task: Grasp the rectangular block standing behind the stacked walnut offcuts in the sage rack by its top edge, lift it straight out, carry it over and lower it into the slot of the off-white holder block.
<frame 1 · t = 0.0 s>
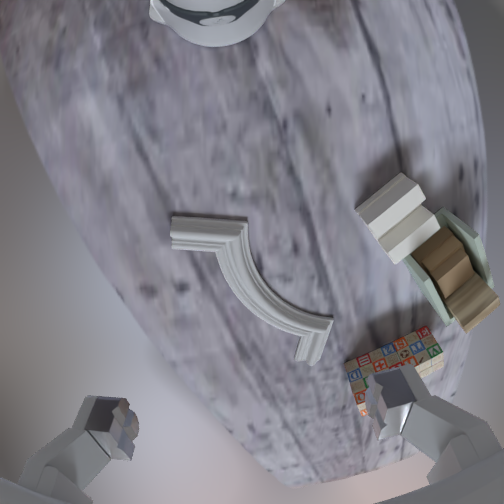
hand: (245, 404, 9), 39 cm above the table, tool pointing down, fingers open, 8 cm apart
holder: (392, 212, 49), on the table
rack: (432, 252, 53), on the table
rectangular block: (441, 268, 53), point 1 cm above the table, touching rack
molding: (258, 298, 56), on the table
stack of blocks: (387, 351, 66), on the table
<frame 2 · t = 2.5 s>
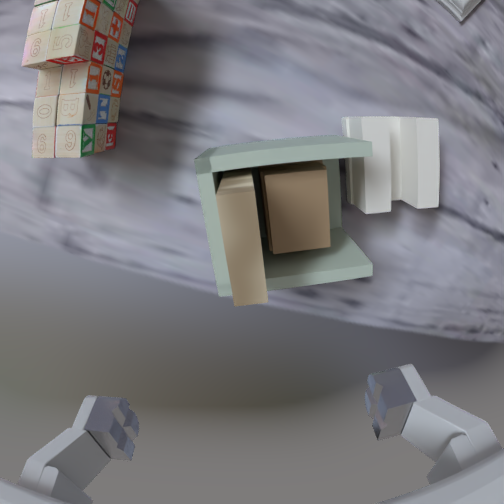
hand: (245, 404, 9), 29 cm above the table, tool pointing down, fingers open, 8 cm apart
holder: (383, 157, 34), on the table
rack: (278, 191, 35), on the table
rectangular block: (243, 198, 34), point 1 cm above the table, touching rack
stack of blocks: (104, 62, 29), on the table
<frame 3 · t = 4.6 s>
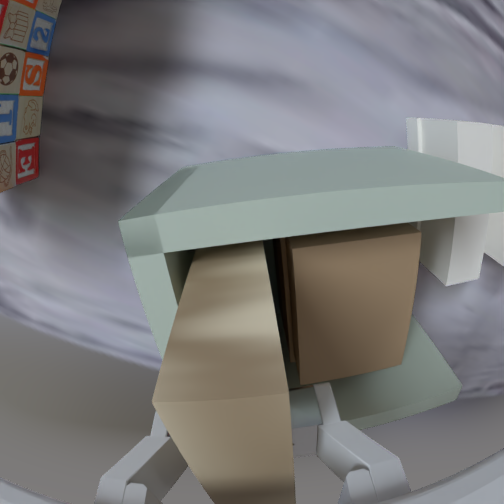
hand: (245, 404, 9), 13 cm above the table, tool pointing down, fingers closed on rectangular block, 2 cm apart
holder: (459, 184, 20), on the table
rack: (301, 240, 21), on the table
rectangular block: (242, 255, 20), point 1 cm above the table, touching gripper, rack
stack of blocks: (26, 45, 15), on the table
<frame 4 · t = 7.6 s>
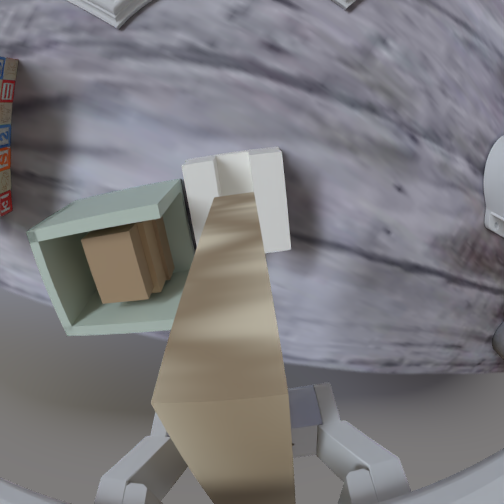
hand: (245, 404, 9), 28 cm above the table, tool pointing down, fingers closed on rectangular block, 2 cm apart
holder: (238, 195, 35), on the table
rack: (135, 237, 36), on the table
rectangular block: (242, 255, 20), point 16 cm above the table, touching gripper
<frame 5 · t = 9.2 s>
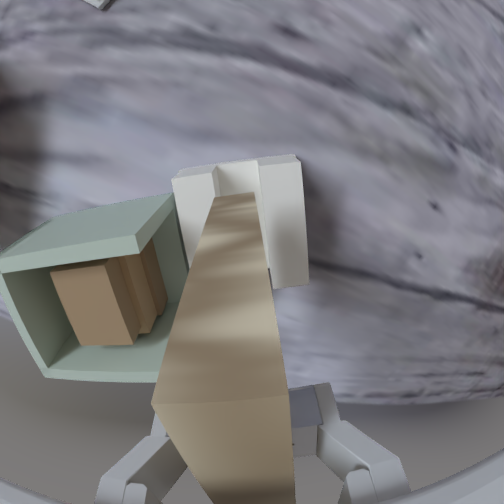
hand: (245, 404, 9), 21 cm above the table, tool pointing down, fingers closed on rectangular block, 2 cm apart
holder: (244, 214, 29), on the table
rack: (121, 260, 30), on the table
rectangular block: (243, 255, 20), point 9 cm above the table, touching gripper
when the fingers open (14 cm above the table, at t = 10.7 s): rectangular block drops 1 cm, resting on holder.
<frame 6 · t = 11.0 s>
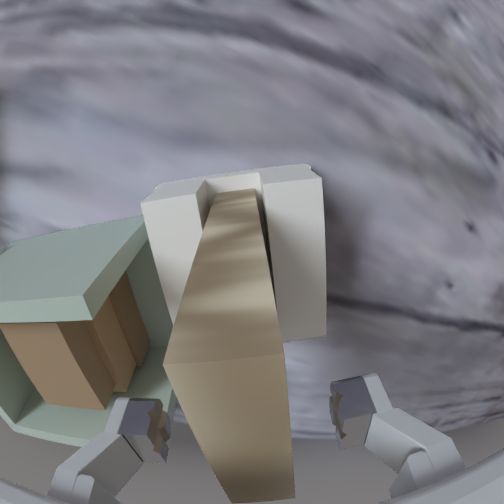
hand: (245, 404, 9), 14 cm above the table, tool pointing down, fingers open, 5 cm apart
holder: (242, 241, 23), on the table
rack: (93, 295, 24), on the table
rectangular block: (243, 248, 21), point 1 cm above the table, touching holder
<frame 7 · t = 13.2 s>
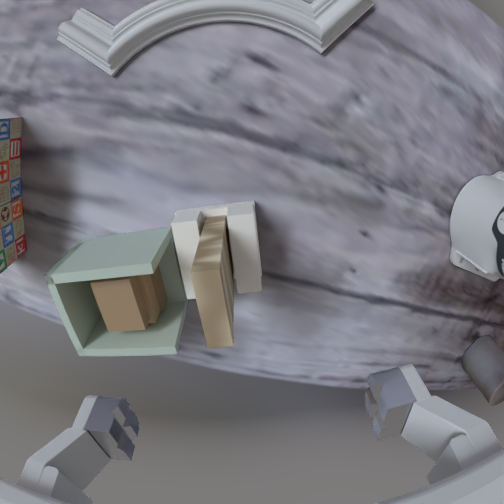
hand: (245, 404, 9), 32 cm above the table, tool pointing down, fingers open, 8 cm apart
holder: (220, 241, 42), on the table
rack: (133, 272, 43), on the table
pillar candle: (476, 350, 55), on the table
rectangular block: (220, 245, 40), point 1 cm above the table, touching holder
molding: (210, 4, 30), on the table
stack of blocks: (9, 185, 37), on the table
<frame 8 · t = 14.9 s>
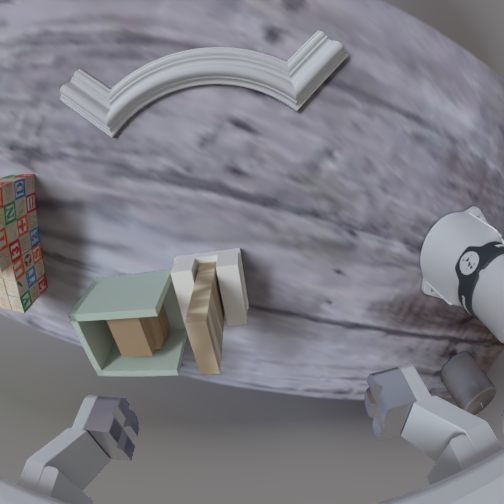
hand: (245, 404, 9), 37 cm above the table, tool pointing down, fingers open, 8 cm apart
holder: (213, 281, 49), on the table
rack: (141, 305, 51), on the table
pillar candle: (455, 365, 62), on the table
rectangular block: (212, 285, 48), point 1 cm above the table, touching holder
molding: (195, 65, 37), on the table
stack of blocks: (28, 232, 45), on the table
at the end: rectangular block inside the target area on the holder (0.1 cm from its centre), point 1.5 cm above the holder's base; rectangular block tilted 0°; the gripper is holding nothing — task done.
